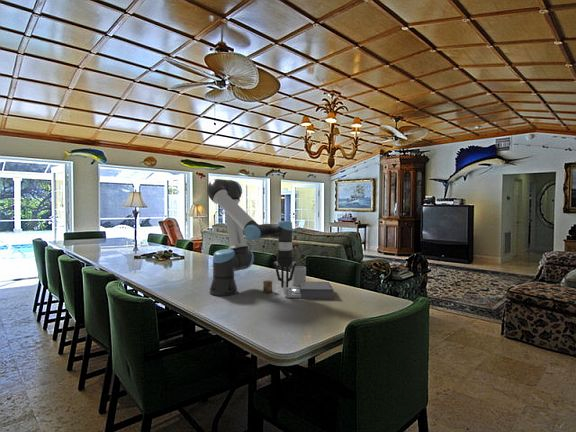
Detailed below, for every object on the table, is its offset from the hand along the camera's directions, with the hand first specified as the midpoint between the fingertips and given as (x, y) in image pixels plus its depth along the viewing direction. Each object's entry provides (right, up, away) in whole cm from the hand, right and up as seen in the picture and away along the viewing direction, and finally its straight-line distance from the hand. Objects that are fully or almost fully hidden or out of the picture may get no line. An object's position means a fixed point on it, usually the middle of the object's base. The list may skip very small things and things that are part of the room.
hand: (284, 293), depth 184 cm
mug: (+7, -1, +29) cm, 30 cm away
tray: (+10, -2, +6) cm, 12 cm away
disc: (+7, -1, +6) cm, 9 cm away
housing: (+17, -2, +6) cm, 18 cm away
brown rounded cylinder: (-10, -1, +9) cm, 13 cm away
